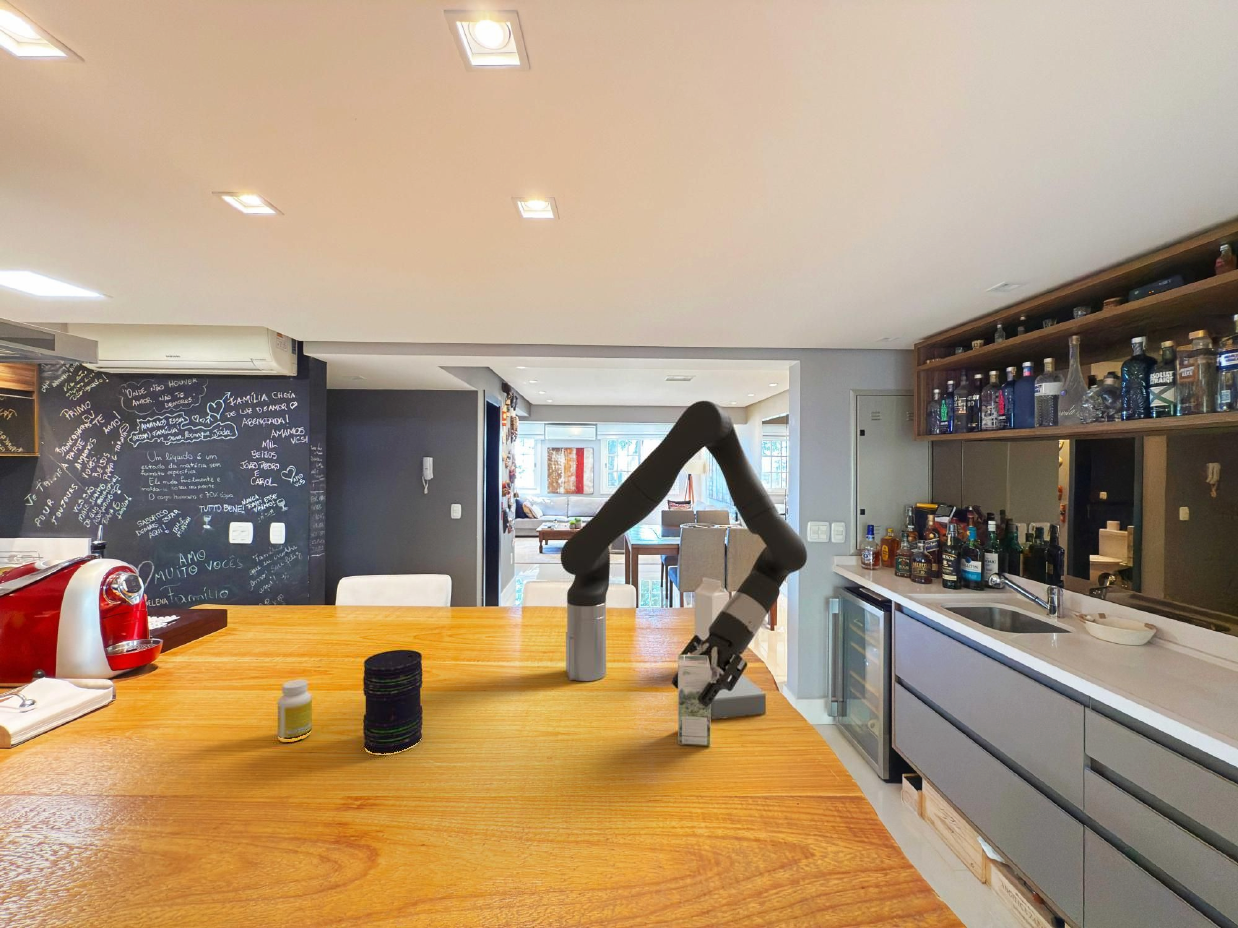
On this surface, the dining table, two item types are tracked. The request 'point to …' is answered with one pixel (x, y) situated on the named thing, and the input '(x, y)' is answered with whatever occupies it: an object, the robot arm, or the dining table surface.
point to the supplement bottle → (294, 710)
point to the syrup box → (693, 700)
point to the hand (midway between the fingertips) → (687, 695)
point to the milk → (708, 606)
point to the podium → (739, 700)
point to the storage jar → (392, 701)
